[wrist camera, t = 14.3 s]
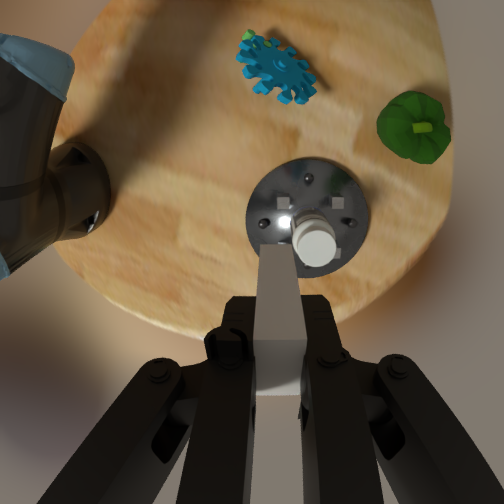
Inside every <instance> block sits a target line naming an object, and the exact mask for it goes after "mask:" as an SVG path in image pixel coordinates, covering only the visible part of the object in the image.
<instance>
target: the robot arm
mask: <svg viewBox="0 0 504 504" xmlns="http://www.w3.org/2000/svg"><path fill="white" fill-rule="evenodd" d="M74 70H75V63H74V60H73V59H72V57H71V56H70V55H69V54H67V53H65V52H63V51H61V50H59V49H56V48H54V47H51V46H49V45H46V44H43V43H40V42H37V41H34V40H30V39H27V38H23V37H19V36H14V35H12V36H11V35H6V34H2V33H0V280H2V279H3V278H7V277H9V276H10V274H12V273H13V272H14V271H15V270H17V269H18V268H19V267H21V266H22V265H23V264H25V263H26V262H27V261H29V260H30V259H31V258H33V257H34V256H35V255H37V254H38V253H39V252H41V251H42V250H44V249H45V248H47V247H48V246H49V245H51V244H53V243H54V242H56V241H62V240H69V239H77V238H81V237H84V236H86V235H88V234H89V233H91V232H92V231H94V230H95V229H97V228H98V227H99V226H100V225H101V223H102V222H103V221H104V219H105V217H106V215H107V212H108V208H109V204H110V182H109V177H108V174H107V171H106V168H105V166H104V164H103V162H102V160H101V158H100V157H99V156H98V154H97V153H96V152H95V151H94V150H93V149H92V148H90V147H89V146H87V145H85V144H82V143H77V142H73V143H67V144H62V145H59V146H57V147H55V148H53V149H52V150H51V146H52V142H53V138H54V134H55V130H56V127H57V123H58V120H59V116H60V113H61V110H62V107H63V104H64V102H66V100H67V97H66V95H67V92H68V89H69V86H70V82H71V79H72V76H73V74H74ZM50 150H51V151H50ZM204 344H205V349H206V353H207V358H208V359H207V360H205V361H203V362H201V363H198V364H194V365H189V366H183V367H180V366H179V365H178V363H177V362H175V361H173V360H172V359H169V358H157V359H153V360H150V361H148V362H146V363H145V364H144V365H143V366H142V367H141V368H140V369H139V371H138V372H137V373H136V374H135V376H134V377H133V378H132V379H131V381H130V382H129V383H128V384H127V386H126V387H125V388H124V390H123V391H122V392H121V394H120V395H119V396H118V397H117V399H116V400H115V401H114V403H113V404H112V405H111V406H110V407H109V409H108V410H107V411H106V413H105V414H104V415H103V417H102V418H101V419H100V420H99V422H98V423H97V424H96V425H95V427H94V428H93V429H92V431H91V432H90V433H89V435H88V436H87V437H86V438H85V440H84V441H83V442H82V444H81V445H80V446H79V448H78V449H77V450H76V452H75V453H74V454H73V456H72V457H71V458H70V459H69V461H68V462H67V464H66V465H65V466H64V467H63V469H62V470H61V471H60V473H59V474H58V475H57V477H56V478H55V479H54V481H53V482H52V483H51V485H50V486H49V488H48V489H47V490H46V492H45V493H44V494H43V496H42V497H41V498H40V500H39V501H38V503H37V504H152V503H153V502H154V500H155V498H156V497H157V495H158V493H159V491H160V490H161V488H162V486H163V484H164V483H165V481H166V479H167V477H168V475H169V474H170V472H171V470H172V468H173V467H174V465H175V463H176V461H177V460H178V458H179V456H180V454H181V452H182V451H183V449H184V447H185V445H186V443H187V441H188V440H189V444H188V448H187V453H186V458H185V462H184V466H183V471H182V476H181V481H180V485H179V490H178V495H177V500H176V504H250V494H251V479H252V464H253V448H254V433H255V414H256V401H255V400H256V395H299V394H300V391H301V404H300V409H299V414H298V419H300V421H301V440H302V463H303V492H304V493H303V495H304V504H384V501H383V494H382V488H381V482H380V476H379V471H378V465H377V461H378V463H379V465H380V466H381V468H382V471H383V473H384V475H385V477H386V479H387V481H388V482H389V485H390V486H391V488H392V491H393V492H394V495H395V497H396V498H397V501H398V503H399V504H504V489H503V488H502V486H501V485H500V483H499V481H498V479H497V478H496V476H495V474H494V473H493V471H492V470H491V468H490V467H489V465H488V463H487V462H486V460H485V459H484V457H483V456H482V454H481V452H480V451H479V450H478V448H477V446H476V445H475V444H474V442H473V440H472V439H471V438H470V436H469V435H468V433H467V432H466V430H465V429H464V427H463V426H462V425H461V423H460V422H459V421H458V419H457V418H456V416H455V415H454V413H453V412H452V411H451V409H450V408H449V407H448V405H447V404H446V403H445V401H444V400H443V398H442V397H441V396H440V394H439V393H438V392H437V391H436V389H435V388H434V387H433V385H432V384H431V383H430V381H429V380H428V379H427V378H426V377H425V375H424V374H423V372H422V371H421V370H420V369H419V367H418V366H417V365H416V364H415V362H413V361H412V360H411V359H410V358H408V357H406V356H404V355H400V354H392V355H387V356H385V357H383V358H382V359H381V360H380V362H379V363H378V364H375V363H369V362H363V361H359V360H356V359H354V358H352V357H351V355H350V354H349V352H348V351H347V350H345V349H344V348H343V347H342V344H341V340H340V337H339V333H338V330H337V326H336V323H335V319H334V316H333V313H332V309H331V306H330V303H329V301H328V300H327V299H326V298H325V297H324V296H323V295H300V290H299V284H298V278H297V272H296V267H295V261H294V255H293V250H292V245H291V244H260V255H259V269H258V282H257V295H256V296H233V297H232V298H231V299H230V300H229V301H228V302H227V303H226V306H225V310H224V314H223V319H222V323H221V326H220V327H217V328H214V329H212V330H211V331H210V332H208V333H207V335H206V336H205V338H204ZM189 438H190V439H189ZM376 459H377V460H376Z"/></svg>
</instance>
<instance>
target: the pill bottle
mask: <svg viewBox="0 0 504 504" xmlns="http://www.w3.org/2000/svg"><path fill="white" fill-rule="evenodd" d="M290 230H291V236H292V244H293V247H294V249H295V251H296V252H297V254H298V255H299V257H300V259H301V260H302V261H303V262H304V263H305V264H307V265H309V266H312V267H320V266H324V265H326V264H327V263H329V262H330V261H331V260H332V259H333V257H334V256H335V253H336V242H335V233H334V230H333V228H332V227H331V225H330V223H329V222H328V220H327V218H326V216H325V215H324V213H323V212H322V211H321V210H320V209H318V208H316V207H313V206H304V207H301V208H299V209H298V210H297V211H296V212H295V213H294V214H293V215H292V217H291V220H290Z"/></svg>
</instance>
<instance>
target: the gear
mask: <svg viewBox="0 0 504 504" xmlns="http://www.w3.org/2000/svg"><path fill="white" fill-rule="evenodd" d="M255 34H256V33H255V32H254V31H253V30H250V29H248V30H247V31H246V33H245V34H244V35H243V36H242V39H243V41H242V42H241V43H240V44H239V47H240V48H241V50H240V52H239V53H238V54H237V56H236V60H237V61H239V62H240V63H247V64H250V65H246V66H245V67H244V68H243V70H242V72H243V75H244V76H245V78H247V79H251V78H253V77H260V78H262V79H261V80H260V81H259V82H258V83H257V84H256V85H255V86H254V87H253V91H254V92H255V93H257V94H259V93H260V92H262V93H263V94H264V95H267V94H268V93H269V92H270V91H272V89H273V87H280V88H281V89H282V90H283V91H282V92H281V93H280V94H279V95H278V96H277V99H278V100H279V101H280V102H282V103H284V104H286V105H287V104H288V103H289V102H290V101H292V99H293V97H292V95H291V89H292V90H293V91H294V92H295V94H296V95H295V97H294V100H295V102H296V103H297V104H305V103H306V102H308V101H309V99H308V98H310V97H311V96H313V95H314V94H315V93H316V92H317V90H316V89H315V88H314V87H312V86H311V85H313V84H314V83H315V82H316V77H315V76H314V75H313V74H310V73H307V72H306V70H307V69H308V68H309V64H308V63H307V61H306V60H296V59H293V58H292V57H293V56H294V55H295V54H297V52H296V51H295V50H294V49H293V48H292V47H290V46H289V47H287V48H286V49H285V50H284V51H280V50H278V49H277V47H278V46H279V45H280V44H281V43H280V41H278V40H277V39H275V38H273V37H272V38H271V39H270V40H269V41H265V39H264V38H263V37H262V36H258V35H255ZM302 88H303V90H302Z"/></svg>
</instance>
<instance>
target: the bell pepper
mask: <svg viewBox="0 0 504 504" xmlns="http://www.w3.org/2000/svg"><path fill="white" fill-rule="evenodd" d="M444 119H445V114H444V111H443V107H442V104H441V103H440V102H439V101H437V100H435V99H433V98H431V97H429V96H427V95H426V94H424V93H420V92H415V91H407V92H404V93H402V94H400V95H398V96H397V97H395V98H393V99H392V100H391V101H390V102H389V103H388V105H387V106H386V107H385V108H384V109H383V110H382V111H381V113H380V115H379V117H378V119H377V133H378V135H379V137H380V139H381V141H382V143H383V144H384V145H385V146H386V147H388V148H389V149H390V150H392V151H393V152H394V153H395V154H397V155H398V156H399V157H402V158H405V159H408V158H410V159H411V160H412V161H414V162H417V163H420V164H432V163H434V162H435V161H436V160H437V159H438V158H439V157H440V156H441V155H442V154H443V152H444V151H445V149H446V148H447V146H448V145H449V143H450V142H451V135H450V128H448V127H447V126H446V125H445V124H444Z"/></svg>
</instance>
